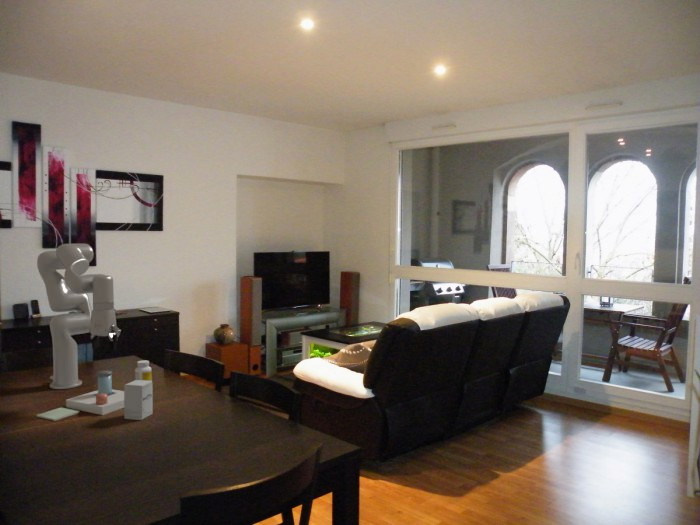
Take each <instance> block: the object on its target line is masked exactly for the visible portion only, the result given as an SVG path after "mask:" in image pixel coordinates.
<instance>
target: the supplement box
mask: <svg viewBox="0 0 700 525" xmlns="http://www.w3.org/2000/svg"><path fill="white" fill-rule="evenodd" d="M123 387H124V388H123V391H124V410H123V411H124V414H123V416H124V420H125V419H127V420H137V421H143V420H144V419H146V418H148V417H149V416H152V415H153V410H154V406H153V405H154V402H153V401H154V399H153V398H154V396H153V392H154V391H153V390H154V389H153V380H152V381H146V380H135V379H134V380H133V381H130V382H128V383H125V384H124V385H123Z"/></svg>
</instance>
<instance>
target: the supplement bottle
mask: <svg viewBox="0 0 700 525" xmlns="http://www.w3.org/2000/svg"><path fill="white" fill-rule="evenodd" d="M136 363H137V364H136V365H137V367H136V368H135V369H134V381H135V380H146V381H153V376H152V375H153V374H152V371H153V370H152V367H151V366H149V365H150V361H149V360H147V359H146V360H145V359H144V360H138V361H136Z"/></svg>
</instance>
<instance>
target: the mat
mask: <svg viewBox="0 0 700 525" xmlns="http://www.w3.org/2000/svg"><path fill="white" fill-rule="evenodd" d="M77 414H80V410H76V409H72V408H67V407H63V406H61V407H58V408H55V409H52V410H48V411H45V412H42V413H38V414H36V417H37V418H41V419H45V420H50V421H52V422H54V421H58V420H61V419H64V418H67V417H70V416H74V415H77Z"/></svg>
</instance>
